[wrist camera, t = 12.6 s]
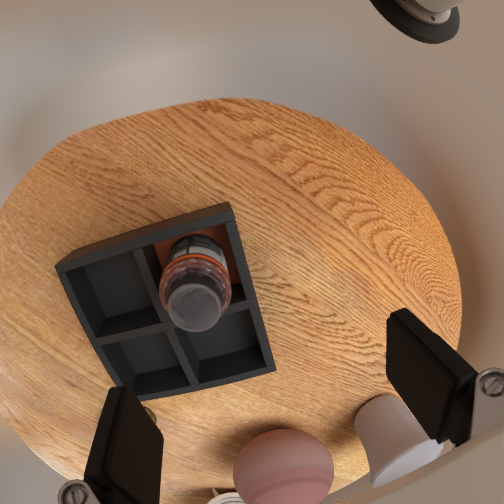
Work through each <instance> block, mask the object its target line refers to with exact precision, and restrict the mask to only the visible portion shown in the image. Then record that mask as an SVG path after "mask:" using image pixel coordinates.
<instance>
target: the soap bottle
mask: <svg viewBox="0 0 504 504" xmlns="http://www.w3.org/2000/svg"><path fill="white" fill-rule="evenodd" d="M354 429H355V431H356V433H357V435H358V437H359V438H360V440H361V442H362V444H363V446H364V448H365V451H366V455H367V458H368V462H369V467H370V483H371V484H372V486H373V488H374V489H375V488H377V487H380V486H382V485H384V484H387V483H389V482H391V481H393V480H395V479H398V478H400V477H402V476H404V475H406V474H408V473H410V472H412V471H414V470H416V469H418V468H420V467H422V466H424V465H426V464H428V463H430V462H432V461H433V460H435V459H437V457H438V456H439V454H440V453H441V451H442V449H443V443H441V444H438V443H437V441H436V440H435V439H434V440H431V439H430V438H429V437H428V435H427V434H426V432H425V431H424V430H423V428H422V427H421V425H420V424H419V422H418V421H417V420H416V419H415V418H414V417H413V415H412V414H411V413H410V411H409V410H408V408H407V407H406V406H405V404H404V403H403V402H402V401H401V400H400V399H398V398H397V397H395V396H394V395H382V396H379V397H376V398H374V399H372V400H371V401H369V402H367V403H366V404H365V405H364V406H363V407H362V408H360V410H359V411H358V413H357V414H356V417H355V421H354Z"/></svg>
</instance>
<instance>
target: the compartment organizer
mask: <svg viewBox="0 0 504 504" xmlns="http://www.w3.org/2000/svg"><path fill="white" fill-rule="evenodd" d="M192 234H202V235H206V236H209V237H211V238H212V239H214V240H215V241H216V242H217V243H218V244H219V245H220V247H221V248H222V250H223V253H224V255H225V259H226V264H227V263H228V264H227V268H228V273H229V278H230V284H231V300H230V303H229V305H228V307H227V309H226V310H225V312H224V313H223V314H222V315H221V316H220V318H219V320H218V321H217V323H216V324H215V325H214V326H212V327H211V328H209V329H207V330H205V331H201V332H189V331H186V330H183V329H181V328H179V327H178V326H176V325H175V324H174V323H173V322H172V320H171V319H170V317H169V315H168V313H167V311H166V310H165V309H164V307H163V305H162V303H161V300H160V296H159V285H160V280H161V277H162V273H163V271H164V268H165V265H166V262H167V259H168V256H169V253H170V251H171V249H172V247H173V246H174V245H175V243H176V242H177V241H179V240H180V239H181V238H183V237H185V236H188V235H192ZM55 269H56V271H57V273H58V274H59V275H58V276H59V278H60V281H61V283H62V285H63V287H64V290H65V292H66V294H67V296H68V299H69V301H70V303H71V305H72V307H73V309H74V311H75V313H76V315H77V317H78V319H79V321H80V323H81V325H82V327H83V329H84V331H85V333H86V335H87V337H88V339H89V341H90V342H91V344H92V346H93V348H94V350H95V351H96V353H97V355H98V357H99V358H100V360H101V362H102V364H103V365H104V367H105V369H106V370H107V372H108V374H109V375H110V377H111V378H112V380H113V382H114V383H115V385H116V386H117V387H118V386H126V387H127V388H128V389H132V390H133V392H134V393H135V395H136V396H137V398H138V399H139V401H146V400H152V399H158V398H164V397H169V396H174V395H180V394H185V393H190V392H194V391H199V390H204V389H208V388H212V387H217V386H221V385H225V384H229V383H233V382H237V381H241V380H245V379H249V378H252V377H256V376H260V375H263V374H267V373H270V372H274V371H277V369H276V366H275V362H274V359H273V355H272V351H271V348H270V344H269V341H268V337H267V334H266V330H265V326H264V323H263V319H262V316H261V312H260V308H259V305H258V301H257V297H256V294H255V290H254V287H253V283H252V279H251V276H250V272H249V268H248V265H247V261H246V257H245V254H244V250H243V246H242V243H241V239H240V235H239V232H238V228H237V224H236V221H235V217H234V213H233V210H232V208H231V205H230V203H229V202H225V203H221V204H217V205H214V206H210V207H207V208H203V209H200V210H197V211H193V212H190V213H186V214H183V215H180V216H176V217H173V218H170V219H167V220H163V221H160V222H157V223H154V224H151V225H147V226H144V227H141V228H138V229H135V230H132V231H129V232H126V233H123V234H120V235H117V236H114V237H111V238H108V239H105V240H102V241H99V242H96V243H93V244H90V245H87V246H85V247H82V248H79V249H76V250H73V251H72V252H71V253H69V254H68V255H67V256H66V257H64V258H63V259H62V260H61V261H60V262H58V263H57V264H56V265H55Z"/></svg>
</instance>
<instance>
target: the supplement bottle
mask: <svg viewBox="0 0 504 504" xmlns="http://www.w3.org/2000/svg"><path fill="white" fill-rule="evenodd" d="M227 264H228V263H227ZM227 264H226V259H225V255H224V253H223V250H222V248H221V247H220V245H219V244H218V243H217V242H216V241H215V240H214V239H212V238H211V237H209V236H206V235H202V234H192V235H188V236H185V237H183V238H181V239H180V240H179V241H177V242H176V243H175V245H174V246H173V247H172V249H171V251H170V253H169V256H168V259H167V262H166V265H165V268H164V271H163V273H162V277H161V280H160V285H159V296H160V300H161V303H162V305H163V307H164V309H165V310H166V311H167V313H168V315H169V317H170V319H171V320H172V322H173V323H174V324H175V325H176V326H178V327H179V328H181V329H183V330H186V331H189V332H201V331H205V330H207V329H209V328H211V327H212V326H214V325H215V324H216V323H217V321H218V320H219V318H220V316H221V315H222V314H223V313H224V312H225V310H226V309H227V307H228V305H229V303H230V300H231V284H230V278H229V273H228V268H227Z"/></svg>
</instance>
